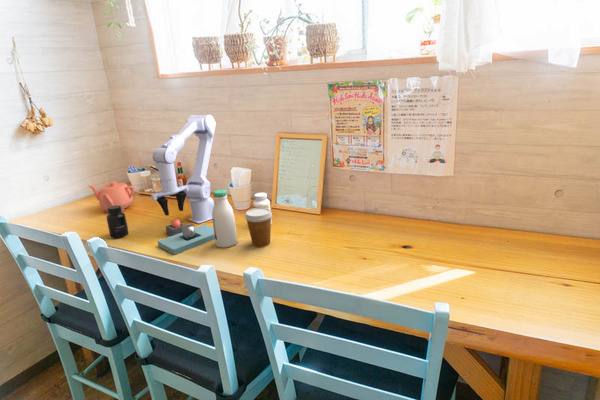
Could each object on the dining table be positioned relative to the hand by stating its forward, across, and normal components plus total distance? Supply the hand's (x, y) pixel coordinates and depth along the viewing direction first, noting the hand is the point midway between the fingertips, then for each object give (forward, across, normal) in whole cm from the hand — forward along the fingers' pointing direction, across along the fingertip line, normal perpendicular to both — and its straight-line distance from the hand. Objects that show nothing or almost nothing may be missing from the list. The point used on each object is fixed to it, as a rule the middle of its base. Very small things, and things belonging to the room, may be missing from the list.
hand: (174, 212), depth 158 cm
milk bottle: (+9, -6, +25) cm, 27 cm away
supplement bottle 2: (+9, -26, +22) cm, 35 cm away
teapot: (+9, +4, -52) cm, 53 cm away
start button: (+7, 0, 0) cm, 7 cm away
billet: (+8, +1, +12) cm, 15 cm away
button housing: (+8, 0, 0) cm, 8 cm away
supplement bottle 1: (+9, +16, -17) cm, 25 cm away
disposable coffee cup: (+9, -14, +35) cm, 39 cm away
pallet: (+8, +1, +12) cm, 15 cm away
